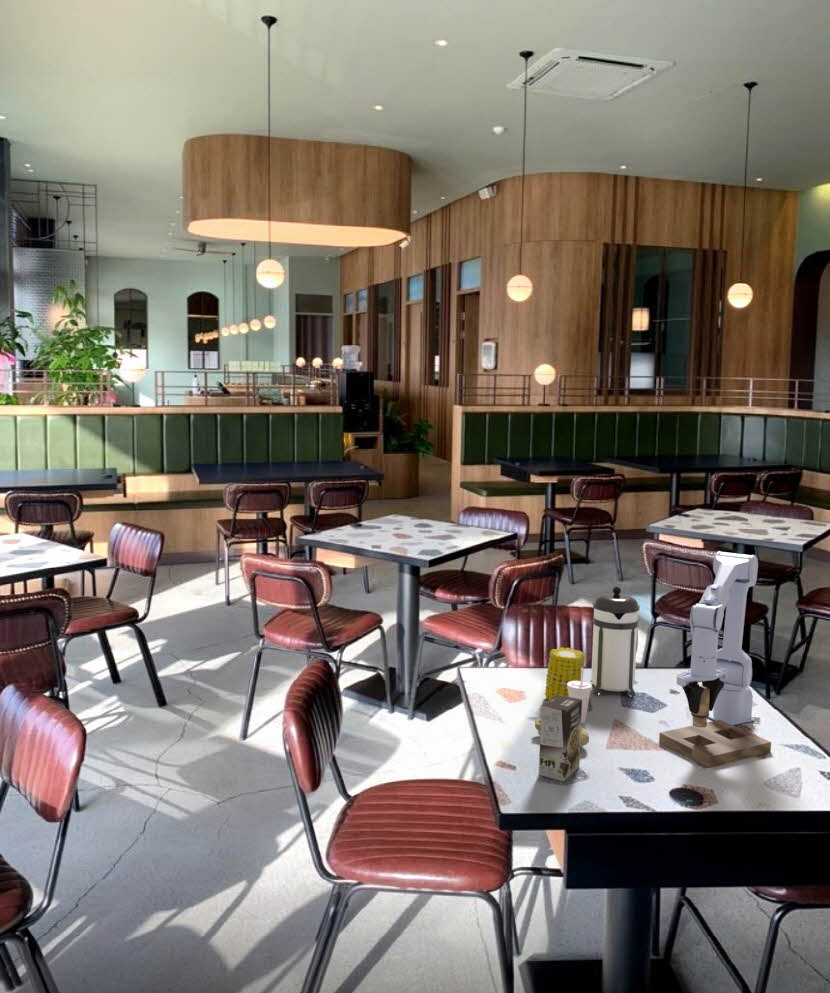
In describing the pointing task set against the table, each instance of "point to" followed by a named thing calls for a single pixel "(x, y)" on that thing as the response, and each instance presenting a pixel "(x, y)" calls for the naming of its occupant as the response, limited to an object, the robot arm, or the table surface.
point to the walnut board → (715, 743)
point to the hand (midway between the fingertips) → (701, 711)
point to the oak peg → (702, 709)
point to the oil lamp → (584, 734)
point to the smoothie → (580, 693)
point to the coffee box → (560, 737)
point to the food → (563, 670)
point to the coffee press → (614, 642)
